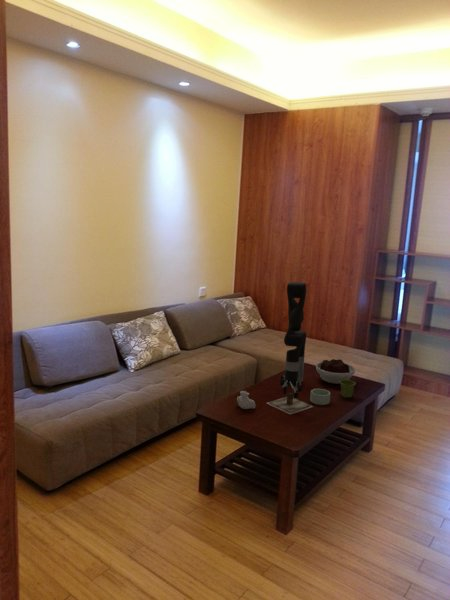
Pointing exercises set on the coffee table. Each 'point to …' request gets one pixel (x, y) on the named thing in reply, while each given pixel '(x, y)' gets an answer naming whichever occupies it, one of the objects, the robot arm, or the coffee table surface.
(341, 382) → the plant pot
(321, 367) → the white round tub
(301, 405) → the cover board
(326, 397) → the bowl
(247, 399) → the bust
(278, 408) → the tray
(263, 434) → the coffee table surface
